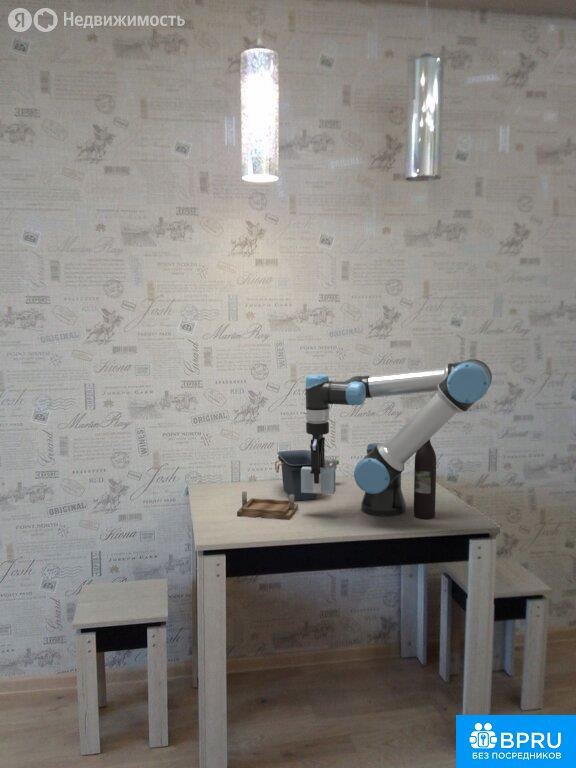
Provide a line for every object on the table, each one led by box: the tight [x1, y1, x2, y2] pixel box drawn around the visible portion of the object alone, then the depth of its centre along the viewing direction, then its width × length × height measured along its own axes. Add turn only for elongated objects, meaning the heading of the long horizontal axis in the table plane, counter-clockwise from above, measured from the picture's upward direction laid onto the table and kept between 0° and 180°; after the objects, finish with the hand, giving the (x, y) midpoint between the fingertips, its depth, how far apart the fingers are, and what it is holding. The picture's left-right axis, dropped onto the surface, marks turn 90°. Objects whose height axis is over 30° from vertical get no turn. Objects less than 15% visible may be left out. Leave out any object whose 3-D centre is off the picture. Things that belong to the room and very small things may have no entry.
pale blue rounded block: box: [301, 467, 337, 495], centre depth 250 cm, size 11×4×8 cm, turn 77°
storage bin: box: [274, 449, 318, 502], centre depth 275 cm, size 21×16×14 cm
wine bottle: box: [413, 438, 437, 520], centre depth 248 cm, size 7×7×30 cm
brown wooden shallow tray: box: [236, 491, 299, 521], centre depth 255 cm, size 18×13×6 cm
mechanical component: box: [324, 458, 340, 471], centre depth 287 cm, size 3×10×10 cm, turn 100°
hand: (318, 490), depth 250 cm, fingers closed on pale blue rounded block, 4 cm apart
